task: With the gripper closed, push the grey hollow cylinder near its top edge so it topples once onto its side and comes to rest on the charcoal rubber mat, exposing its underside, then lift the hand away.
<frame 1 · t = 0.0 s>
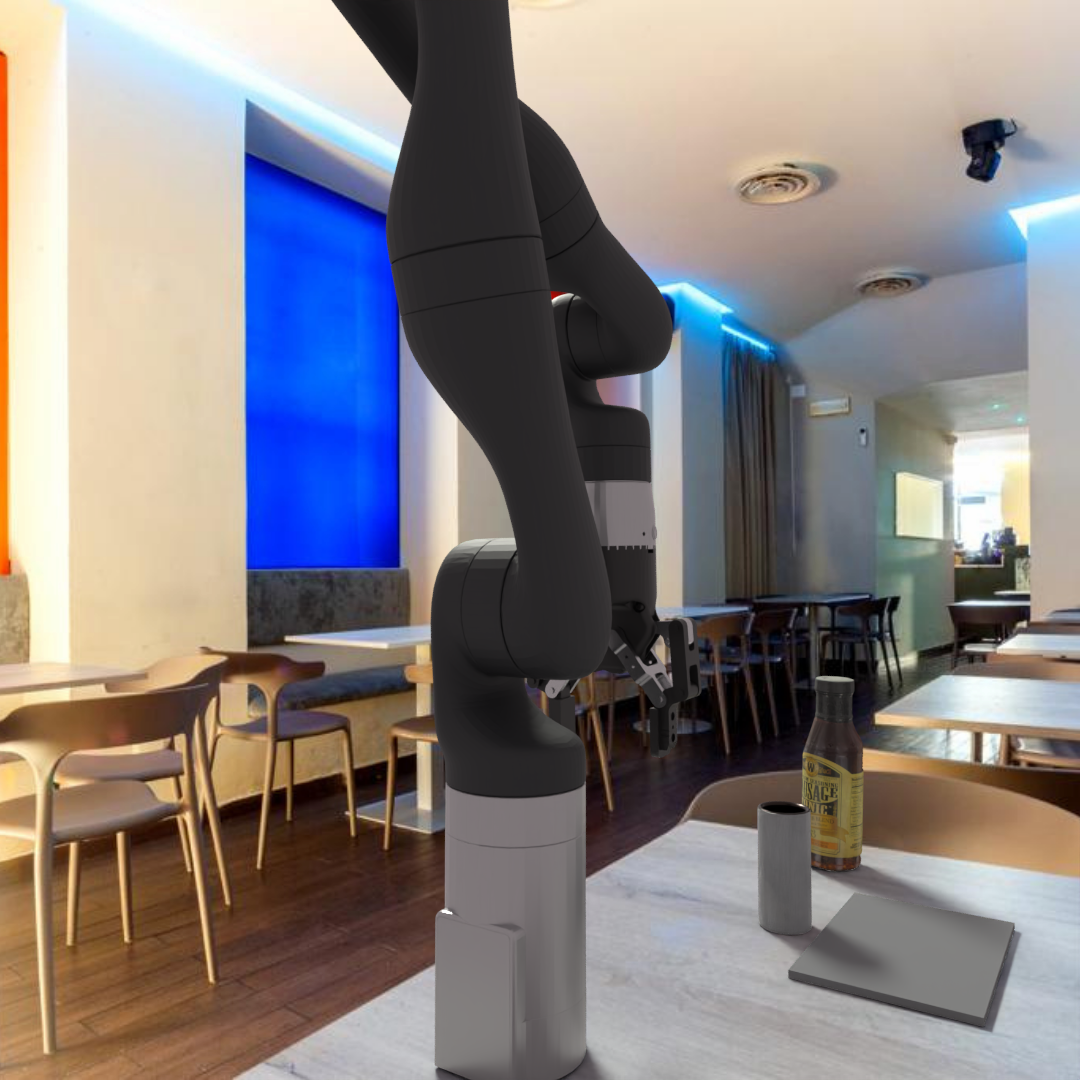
hand: (611, 749, 70), 17 cm above the table, tool pointing down, fingers open, 8 cm apart
mat: (908, 952, 73), on the table
sauce bottle: (832, 866, 95), on the table
grey hollow cylinder: (785, 927, 78), on the table
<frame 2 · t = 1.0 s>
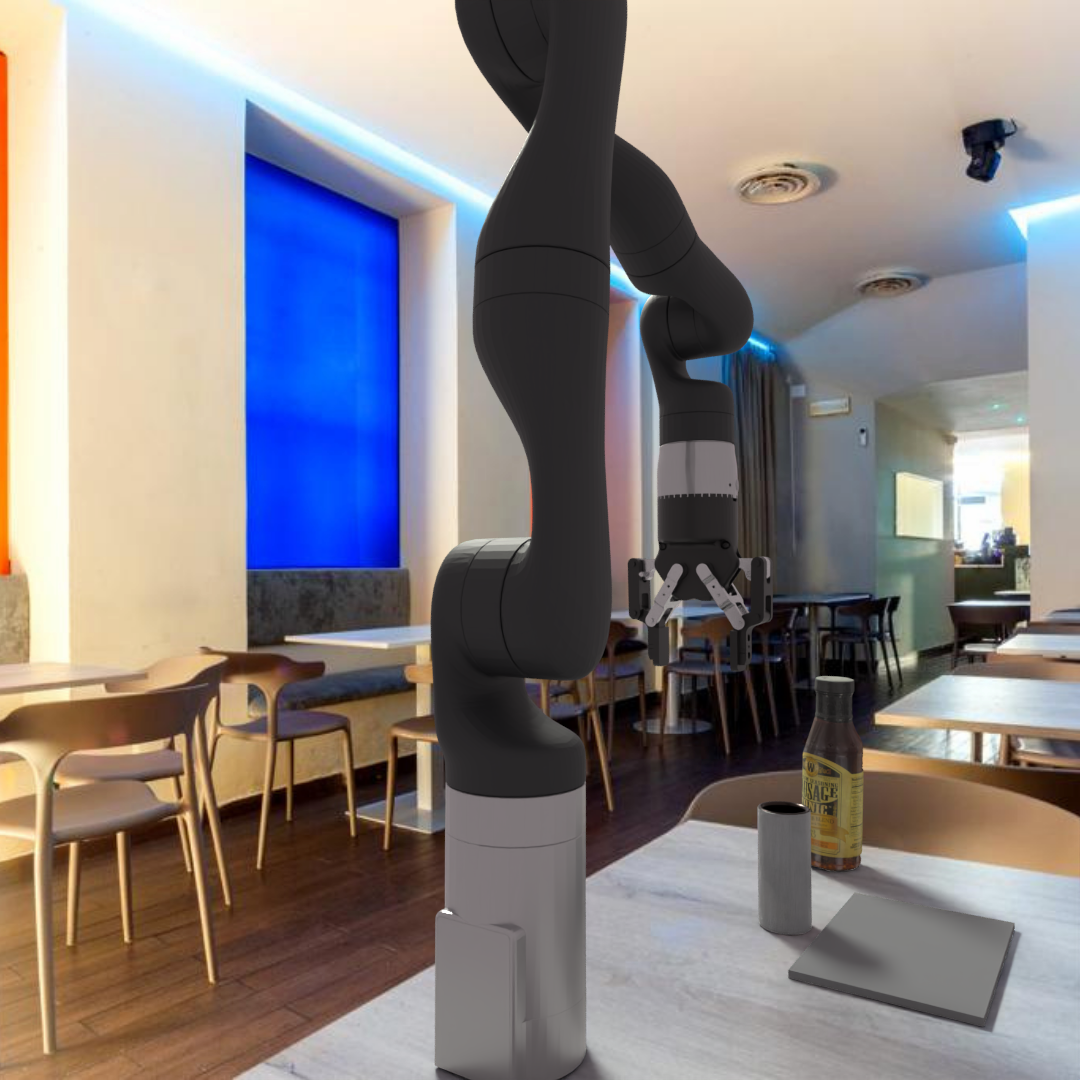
hand: (698, 667, 84), 22 cm above the table, tool pointing down, fingers open, 7 cm apart
nothing on the table moved.
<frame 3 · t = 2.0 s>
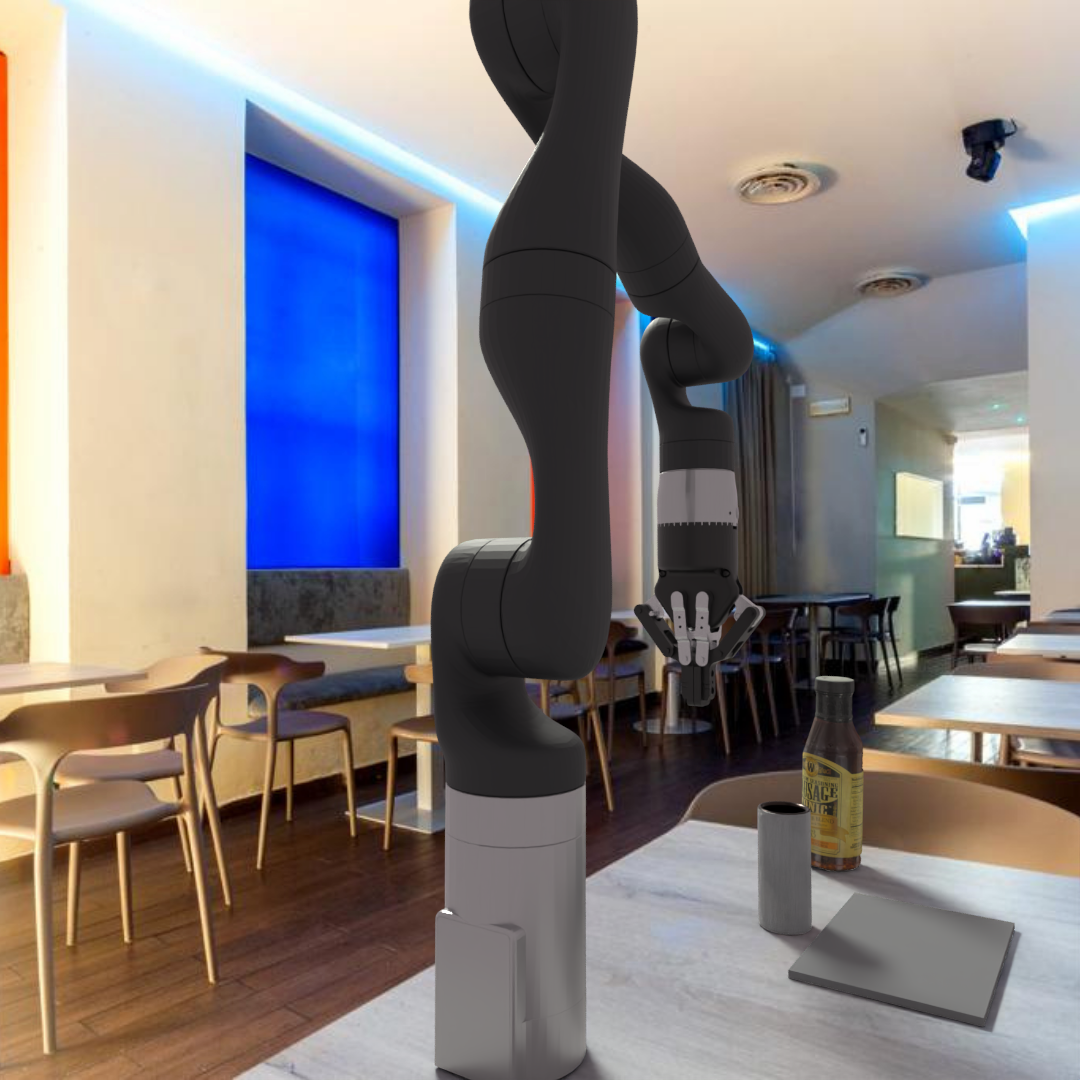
hand: (698, 704, 83), 19 cm above the table, tool pointing down, fingers closed
nothing on the table moved.
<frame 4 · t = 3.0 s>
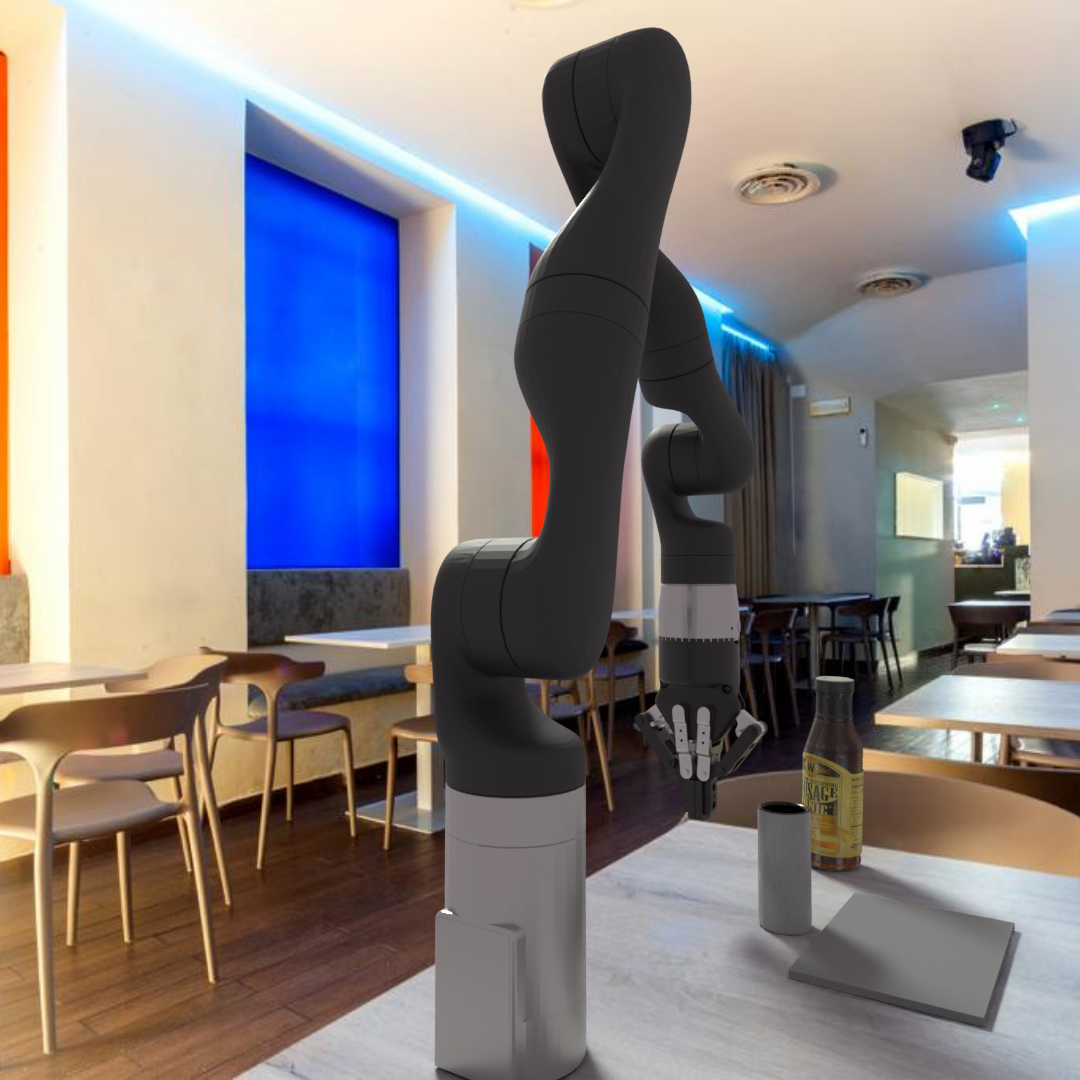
hand: (700, 818, 83), 8 cm above the table, tool pointing down, fingers closed
nothing on the table moved.
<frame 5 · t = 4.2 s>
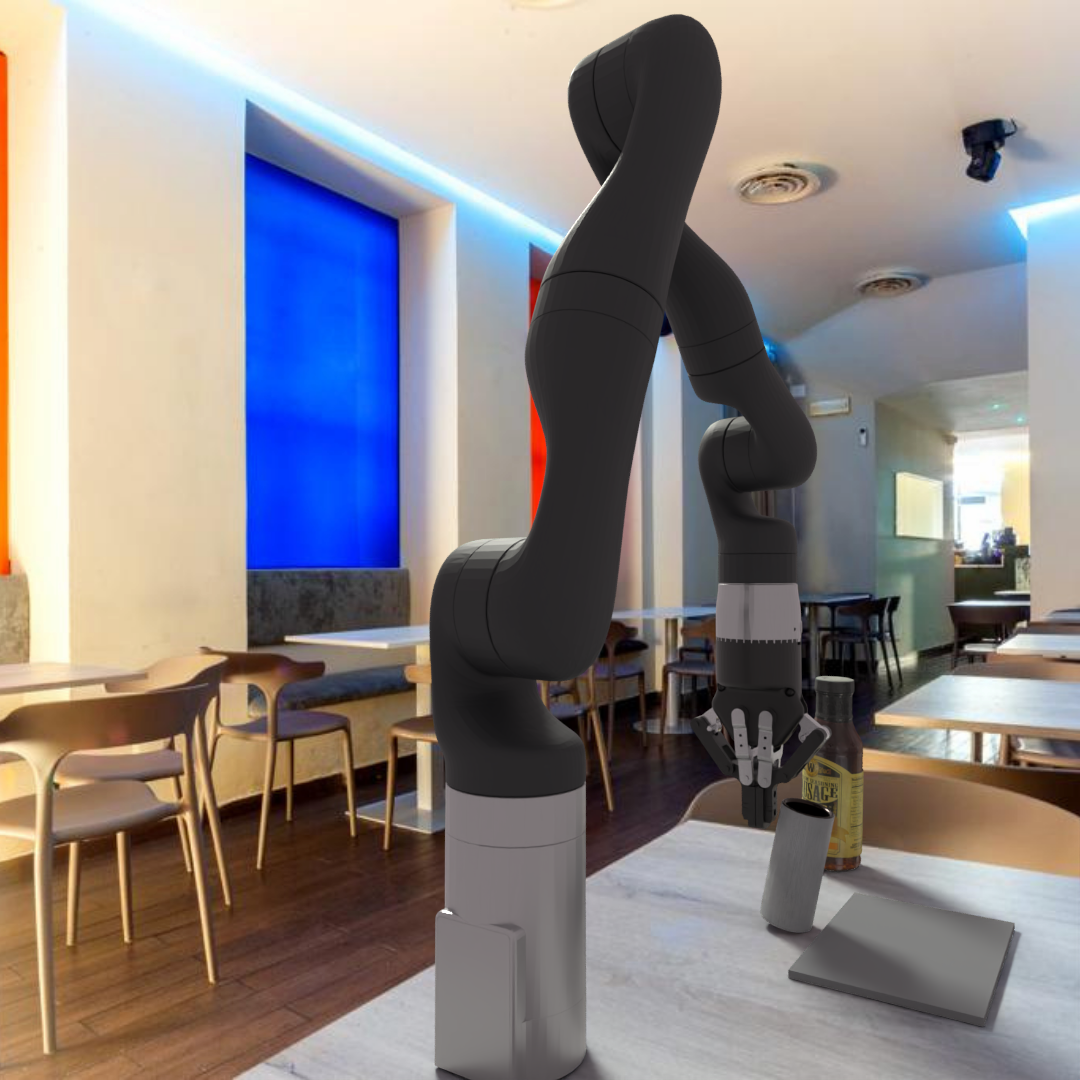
hand: (760, 825, 80), 8 cm above the table, tool pointing down, fingers closed
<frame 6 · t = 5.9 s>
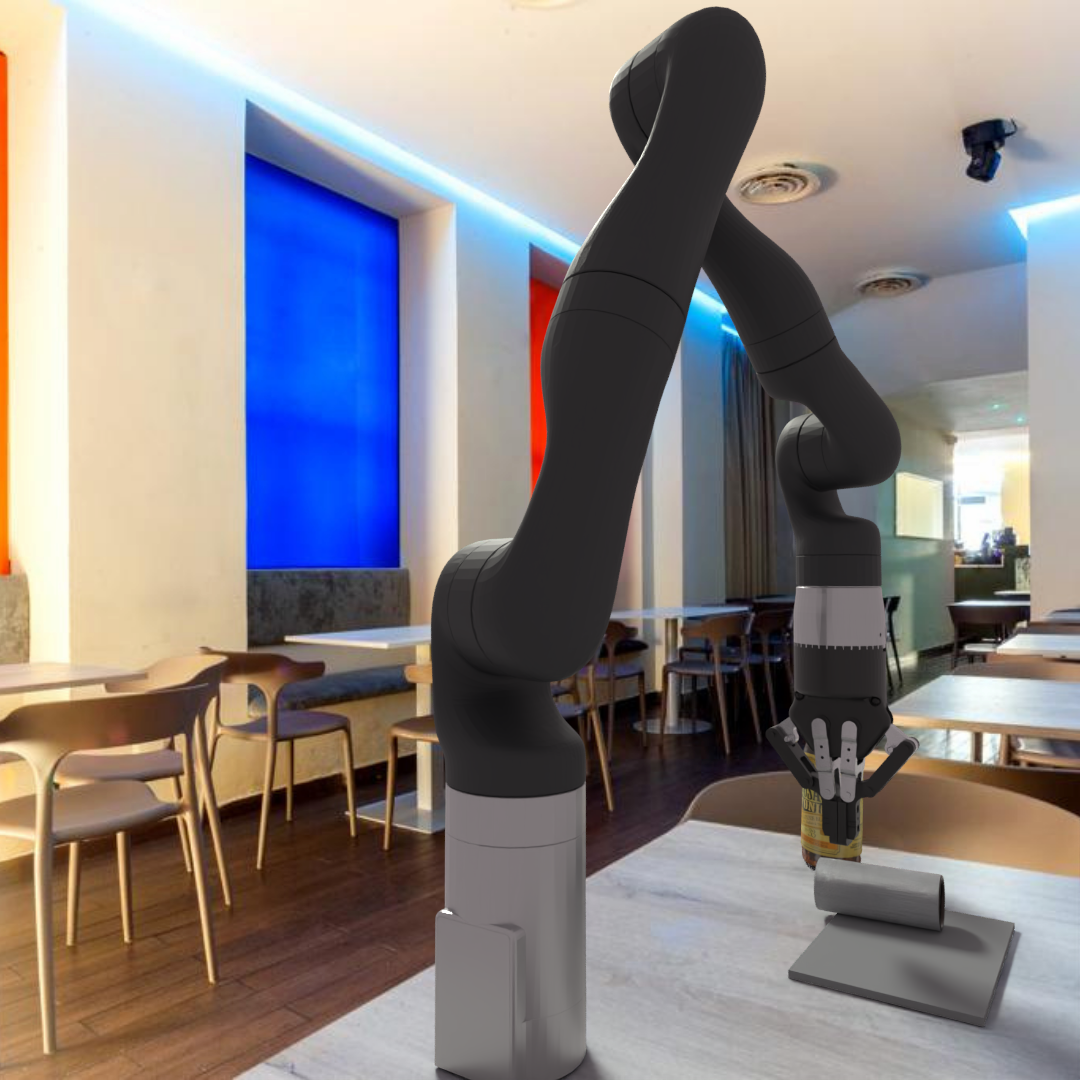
hand: (841, 842, 76), 8 cm above the table, tool pointing down, fingers closed
grey hollow cylinder: (816, 882, 81), point 3 cm above the table, touching mat
everything else where it was.
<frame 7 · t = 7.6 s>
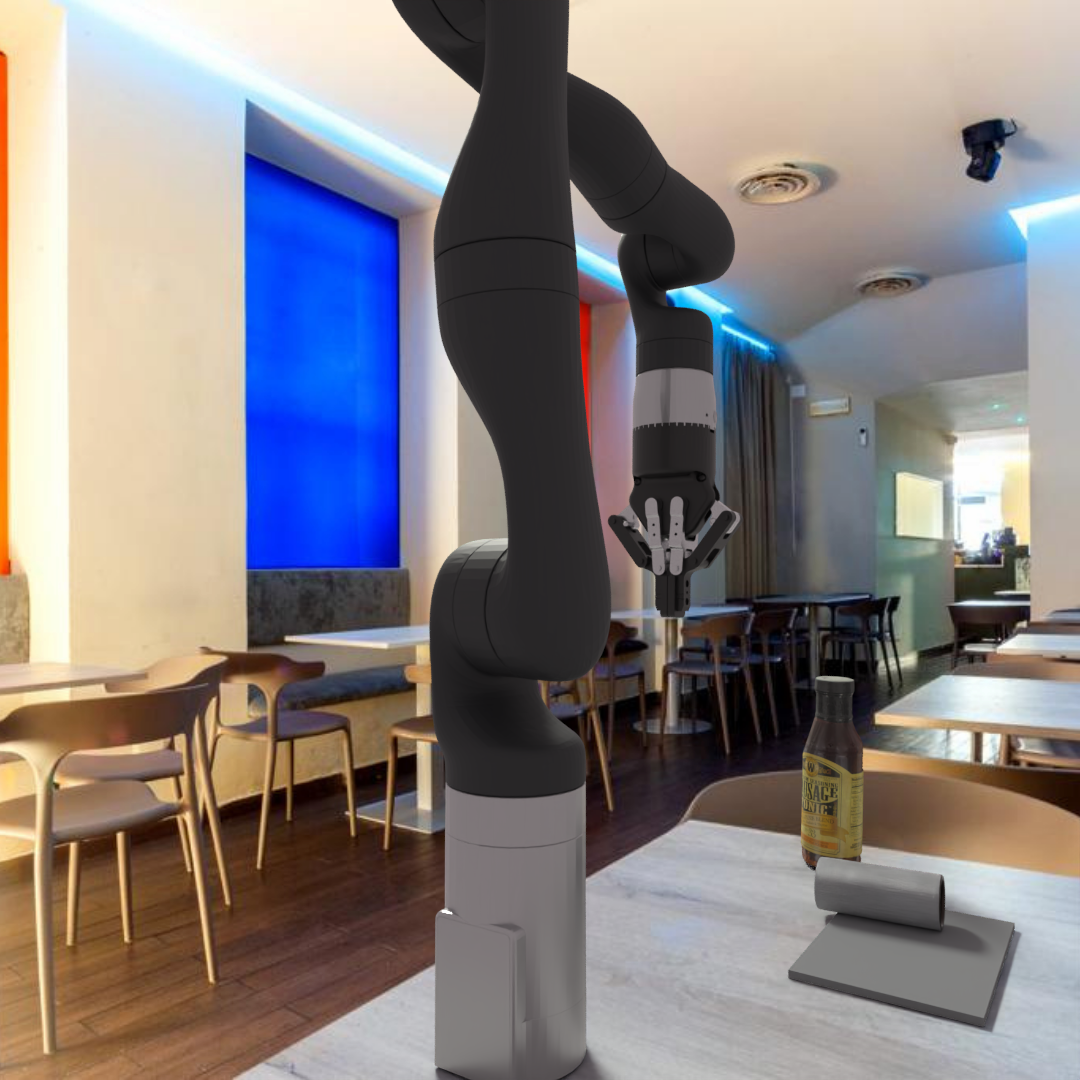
hand: (672, 617, 80), 27 cm above the table, tool pointing down, fingers closed
nothing on the table moved.
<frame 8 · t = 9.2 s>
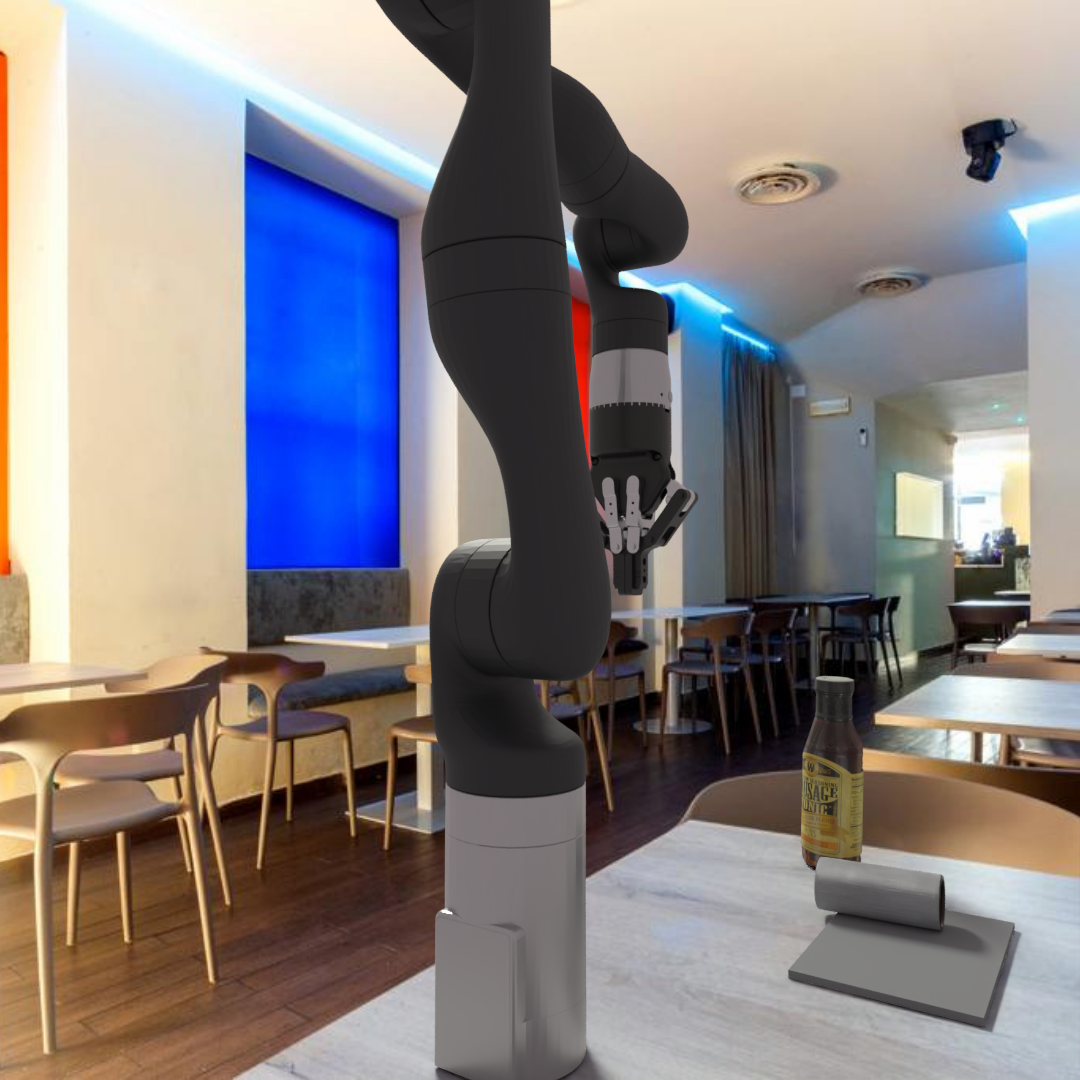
hand: (630, 595, 81), 29 cm above the table, tool pointing down, fingers closed
nothing on the table moved.
at the end: grey hollow cylinder tilted 90°; grey hollow cylinder inside the target area (6.8 cm from its centre), point 2.8 cm above the table; grey hollow cylinder touching mat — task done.
